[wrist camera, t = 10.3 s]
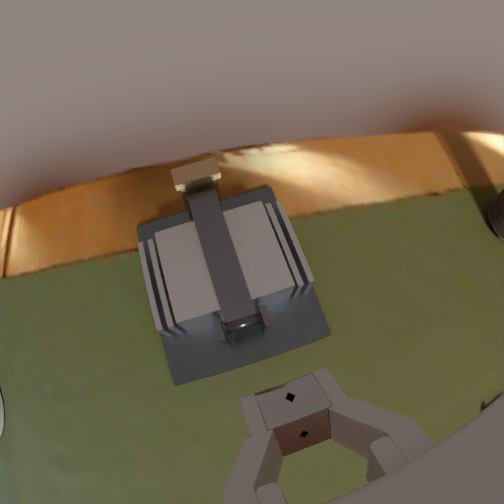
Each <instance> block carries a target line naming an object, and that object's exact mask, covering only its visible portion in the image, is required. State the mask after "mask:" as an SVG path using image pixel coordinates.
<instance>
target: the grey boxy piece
mask: <svg viewBox="0 0 504 504" xmlns="http://www.w3.org/2000/svg"><path fill="white" fill-rule="evenodd" d="M171 174H172V178H173V182H174V186H175V189H176V191H181V194H182V197H183V200H184V203H185V206H186V208H187V211H185V212H182V213H178V214H175V215H172V216H169V217H166V218H163V219H160V220H156V221H153V222H150V223H147V224H144V225H141V226H138V227H137V232H138V238H139V243H138V249H139V254H140V259H141V264H142V269H143V273H144V278H145V283H146V287H147V292H148V296H149V300H150V305H151V309H152V313H153V317H154V321H155V325H156V329H157V331H158V332H160V335H161V339H162V343H163V346H164V350H165V354H166V357H167V361H168V364H169V368H170V371H171V374H172V378H173V381H174V384H175V385H180V384H184V383H188V382H191V381H195V380H198V379H202V378H206V377H209V376H212V375H216V374H219V373H223V372H226V371H229V370H233V369H236V368H239V367H242V366H245V365H248V364H251V363H255V362H258V361H261V360H264V359H267V358H270V357H272V356H275V355H278V354H281V353H284V352H287V351H290V350H292V349H295V348H298V347H301V346H303V345H306V344H309V343H311V342H314V341H317V340H319V339H322V338H324V337H327V336H330V335H331V331H330V329H329V326H328V324H327V321H326V319H325V316H324V313H323V311H322V308H321V306H320V303H319V301H318V298H317V296H316V293H315V291H314V288H313V286H312V285H313V283H314V281H315V280H314V278H313V275H312V273H311V270H310V268H309V266H308V263H307V261H306V258H305V256H304V254H303V251H302V249H301V246H300V244H299V242H298V239H297V237H296V235H295V232H294V230H293V228H292V225H291V223H290V221H289V218H288V216H287V214H286V212H285V209H284V207H283V205H282V202H281V200H278V201H277V200H276V198H275V195H274V193H273V191H272V189H271V187H268V188H264V189H260V190H257V191H253V192H249V193H246V194H242V195H239V196H235V197H232V198H228V199H225V200H221V198H220V192H219V186H218V179H220V178H221V172H220V169H219V167H218V164H217V161H216V158H215V157H212V158H209V159H205V160H202V161H198V162H195V163H191V164H188V165H184V166H181V167H178V168H175V169H171ZM213 188H215V190H216V193H217V197H218V200H219V203H220V206H221V209H222V212H223V215H224V218H225V221H226V224H227V227H228V230H229V233H230V236H231V239H232V242H233V245H234V248H235V251H236V254H237V257H238V260H239V263H240V266H241V269H242V272H243V275H244V278H245V281H246V284H247V287H248V290H249V293H250V295H251V298H252V301H253V304H254V307H255V310H256V312H257V313H258V315H259V318H260V321H261V324H260V325H257V326H254V327H251V328H248V329H245V330H241V331H238V332H235V333H232V334H229V335H228V334H227V331H226V328H225V325H224V322H225V321H224V318H223V315H222V312H221V309H220V306H219V303H218V299H217V296H216V293H215V290H214V287H213V283H212V280H211V277H210V274H209V270H208V267H207V264H206V260H205V257H204V254H203V250H202V247H201V243H200V240H199V237H198V233H197V230H196V226H195V223H194V219H193V216H192V212H191V209H190V205H189V201H188V198H187V196H189V195H192V194H196V193H199V192H202V191H206V190H209V189H213Z"/></svg>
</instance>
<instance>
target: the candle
mask: <svg viewBox="0 0 504 504" xmlns="http://www.w3.org/2000/svg"><path fill="white" fill-rule="evenodd" d="M488 218H489V221H490V223H491V225H492V227H493V229H494V231H495V232H496V233H497V234H498V236H499V238H500V239H502V240H504V189H503V190H502V191H501V192H500V193H499V194H498V195H497V196H496V197H495V198H494V199H493V200H492V201H491V202H490V203H489V206H488Z"/></svg>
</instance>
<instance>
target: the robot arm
mask: <svg viewBox="0 0 504 504" xmlns="http://www.w3.org/2000/svg"><path fill="white" fill-rule="evenodd" d="M254 394H255V395H254ZM254 394H251V395H248V396H245V397H241V398H239V401H240V405H241V408H242V412H243V415H244V418H245V421H246V424H247V428H248V431H249V434H250V437H247V438H246V439H245V441H244V444H243V446H242V449H241V451H240V454H239V456H238V458H237V461H236V463H235V465H234V468H233V470H232V473H231V475H230V477H229V479H228V482H227V484H226V486H225V489H224V491H223V493H222V499H223V504H288V503H287V501H286V499H285V497H284V495H283V493H282V491H281V489H280V487H279V485H278V484H277V482H278V478H279V474H280V470H281V467H282V463H283V459H284V458H283V457H285V456H287V455H290V454H292V453H295V452H298V451H300V450H303V449H305V448H308V447H310V446H313V445H316V444H319V443H321V442H324V441H326V440H329V439H332V440H333V441H335V442H337V443H339V444H340V445H342V446H344V447H346V448H348V449H350V450H351V451H353V452H355V453H357V454H359V455H361V456H363V457H365V458H367V459H368V466H367V474H366V479H367V481H368V484H366V485H364V486H362V487H360V488H357V489H355V490H353V491H351V492H349V493H346V494H344V495H342V496H339V497H337V498H335V499H332V500H330V501H327V502H325V503H322V504H504V393H503V394H502V395H501V396H500V397H498V398H497V399H496V400H495V401H494V402H493V403H491V404H490V405H489V406H488V407H487V408H485V409H484V410H483V411H482V412H481V413H479V414H478V415H477V416H475V417H474V418H473V419H472V420H470V421H469V422H468V423H466V424H465V425H464V426H462V427H461V428H460V429H458V430H457V431H455V432H454V433H453V434H451V435H450V436H448V437H447V438H445V439H444V440H442V441H441V442H440V443H438V444H436V445H434V444H433V443H432V442H431V440H430V439H429V438H428V437H427V435H426V434H425V433H424V431H423V430H422V429H421V428H420V426H419V425H418V424H417V423H416V421H415V420H414V419H412V418H409V417H406V416H403V415H400V414H397V413H394V412H391V411H388V410H386V409H383V408H380V407H377V406H374V405H372V404H369V403H366V402H363V401H361V400H358V399H355V398H350V399H348V397H347V396H346V395H345V393H344V392H343V390H342V389H341V387H340V386H339V384H338V383H337V381H336V380H335V378H334V377H333V375H332V374H331V372H330V371H329V369H328V368H326V367H325V368H322V369H320V370H317V371H315V372H312V373H309V374H307V375H304V376H302V377H299V378H297V379H294V380H292V381H289V382H286V383H284V384H282V385H279V386H276V387H273V388H270V389H267V390H264V391H260V392H257V393H254ZM255 396H256V397H255ZM256 399H257V400H256ZM257 402H258V403H257ZM3 424H4V410H3V402H2V397H1V393H0V437H1V434H2V430H3Z"/></svg>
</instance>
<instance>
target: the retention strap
mask: <svg viewBox="0 0 504 504" xmlns="http://www.w3.org/2000/svg"><path fill="white" fill-rule="evenodd" d="M187 198H188V201H189V205H190V209H191V212H192V216H193V219H194V223H195V226H196V230H197V233H198V237H199V240H200V243H201V247H202V250H203V254H204V257H205V260H206V264H207V267H208V270H209V274H210V277H211V280H212V283H213V287H214V290H215V293H216V296H217V299H218V303H219V306H220V309H221V312H222V315H223V318H224V321H225V322H224V325H225V328H226V331H227V334H228V335H229V334H232V333H235V332H238V331H241V330H245V329H248V328H251V327H254V326H257V325H260V324H261V321H260V318H259V315H258V313H257V312H256V310H255V307H254V304H253V301H252V298H251V295H250V293H249V290H248V287H247V284H246V281H245V278H244V275H243V272H242V269H241V266H240V263H239V260H238V257H237V254H236V251H235V248H234V245H233V242H232V239H231V236H230V233H229V230H228V227H227V224H226V221H225V218H224V215H223V212H222V209H221V206H220V203H219V200H218V197H217V193H216V190H215V188H213V189H209V190H206V191H202V192H199V193H196V194H192V195H189V196H187Z"/></svg>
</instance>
